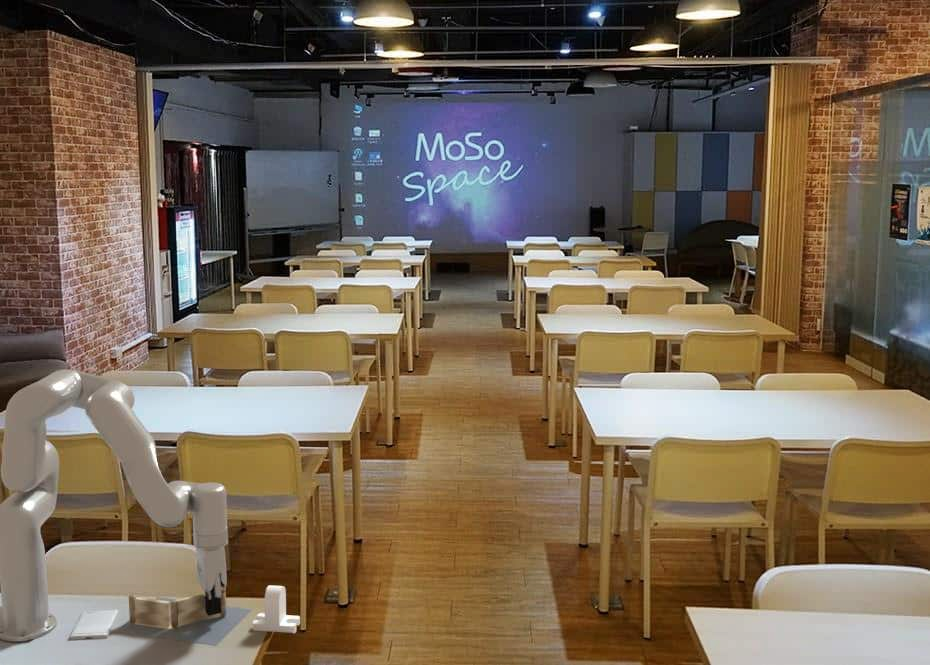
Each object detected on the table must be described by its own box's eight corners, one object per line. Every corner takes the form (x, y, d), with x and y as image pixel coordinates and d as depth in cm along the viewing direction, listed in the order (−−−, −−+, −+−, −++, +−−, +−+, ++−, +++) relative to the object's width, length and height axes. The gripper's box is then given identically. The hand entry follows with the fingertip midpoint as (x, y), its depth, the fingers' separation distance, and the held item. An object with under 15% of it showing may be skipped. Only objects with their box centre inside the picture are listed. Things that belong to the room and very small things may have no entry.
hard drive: (82, 611, 226) (68, 636, 214) (119, 609, 228) (107, 634, 215) (83, 617, 227) (69, 643, 215) (119, 616, 228) (107, 641, 216)
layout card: (115, 632, 219) (115, 630, 219) (157, 598, 236) (157, 597, 236) (216, 646, 213) (216, 645, 213) (252, 610, 230) (252, 609, 230)
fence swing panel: (172, 628, 220) (171, 601, 218) (170, 625, 221) (169, 598, 220) (227, 615, 226) (226, 589, 225) (225, 612, 228) (224, 586, 226)
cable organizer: (259, 620, 226) (258, 580, 224) (300, 623, 225) (300, 583, 223) (252, 631, 220) (251, 590, 219) (294, 634, 219) (293, 593, 218)
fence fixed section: (128, 623, 222) (127, 597, 221) (132, 619, 224) (131, 593, 223) (167, 628, 220) (166, 602, 219) (171, 625, 222) (170, 599, 221)
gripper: (185, 529, 223) (188, 603, 227) (202, 552, 211) (205, 630, 214) (217, 524, 227) (220, 597, 230) (236, 545, 214) (239, 622, 217)
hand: (213, 612), depth 222 cm, fingers closed
